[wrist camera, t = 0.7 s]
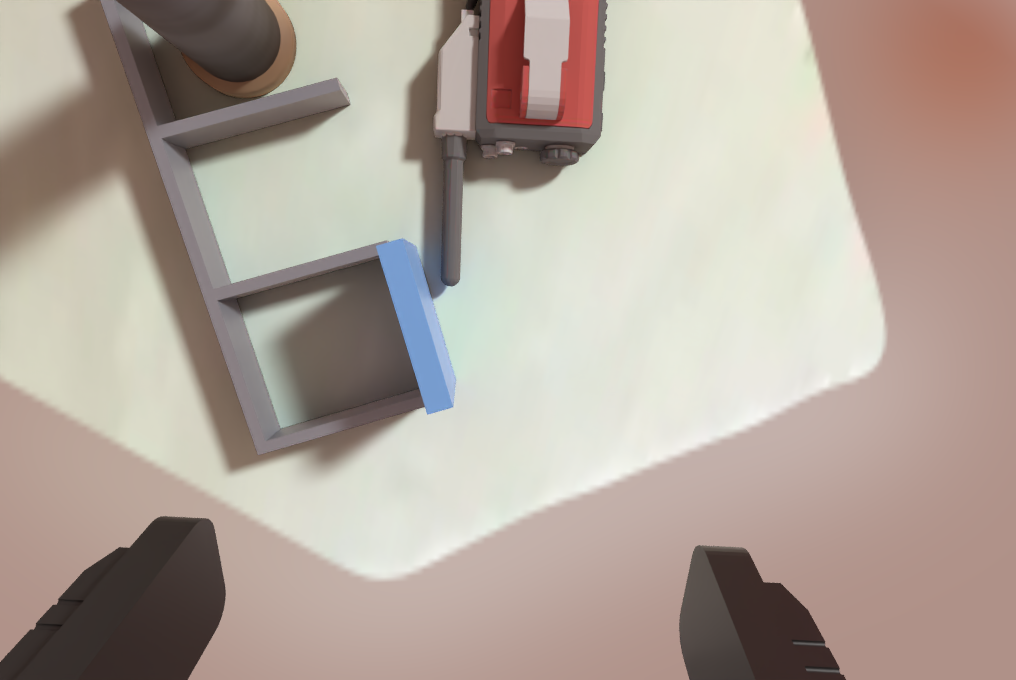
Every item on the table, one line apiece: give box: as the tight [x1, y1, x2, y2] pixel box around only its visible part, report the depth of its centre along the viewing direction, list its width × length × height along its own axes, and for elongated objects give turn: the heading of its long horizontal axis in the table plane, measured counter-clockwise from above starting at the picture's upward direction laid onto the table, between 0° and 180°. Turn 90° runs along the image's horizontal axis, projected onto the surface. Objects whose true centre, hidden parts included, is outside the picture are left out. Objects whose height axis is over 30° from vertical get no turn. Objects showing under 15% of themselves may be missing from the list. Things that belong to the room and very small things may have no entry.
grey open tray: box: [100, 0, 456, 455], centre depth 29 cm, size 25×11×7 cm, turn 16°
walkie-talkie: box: [433, 0, 608, 286], centre depth 30 cm, size 9×4×20 cm
